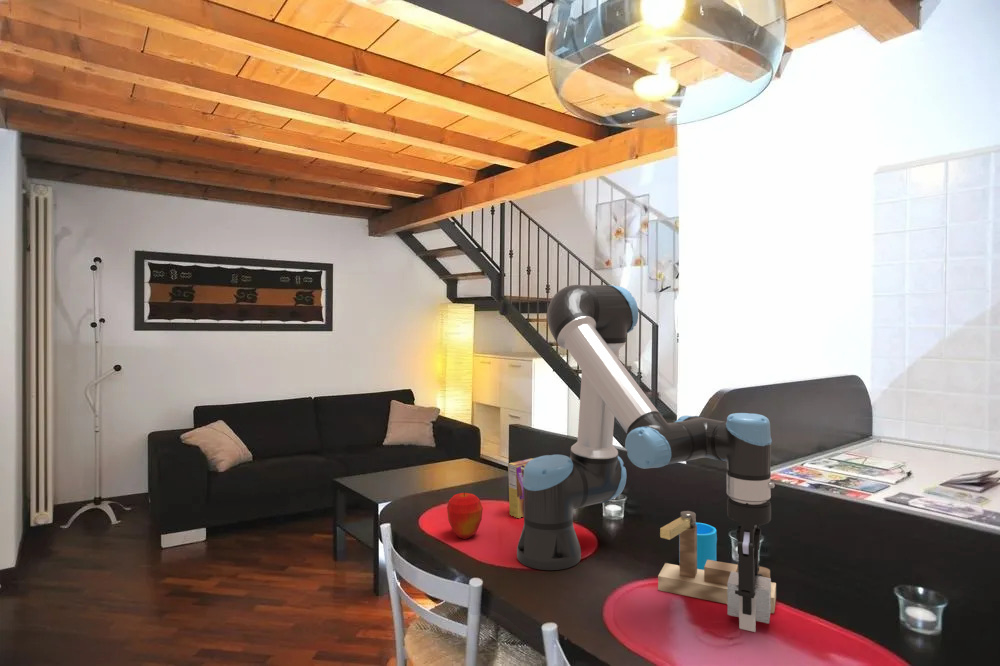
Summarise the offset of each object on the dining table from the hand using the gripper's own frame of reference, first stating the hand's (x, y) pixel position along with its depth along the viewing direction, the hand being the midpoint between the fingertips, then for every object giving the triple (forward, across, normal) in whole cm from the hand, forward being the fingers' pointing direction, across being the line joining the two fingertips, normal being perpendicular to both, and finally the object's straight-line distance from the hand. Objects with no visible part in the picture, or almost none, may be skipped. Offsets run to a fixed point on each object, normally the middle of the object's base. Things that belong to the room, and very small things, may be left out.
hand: (749, 621), depth 111 cm
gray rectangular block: (-2, 0, 0) cm, 2 cm away
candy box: (0, +36, +63) cm, 73 cm away
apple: (0, +14, +70) cm, 71 cm away
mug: (0, +24, +12) cm, 27 cm away
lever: (-13, +5, +14) cm, 20 cm away
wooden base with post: (0, +9, +7) cm, 11 cm away
